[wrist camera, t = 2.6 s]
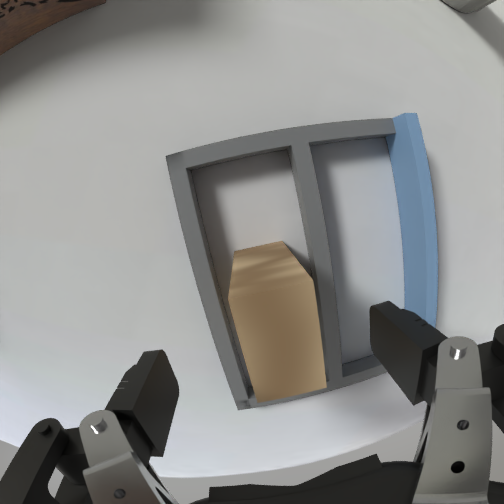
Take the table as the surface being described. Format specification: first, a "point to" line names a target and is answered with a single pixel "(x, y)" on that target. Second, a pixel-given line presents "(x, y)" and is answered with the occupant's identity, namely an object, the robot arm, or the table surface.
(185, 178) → the organizer
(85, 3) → the tissue box cover
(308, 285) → the plug block
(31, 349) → the table surface
